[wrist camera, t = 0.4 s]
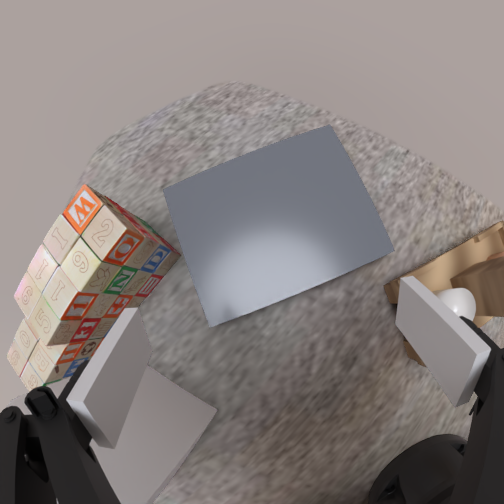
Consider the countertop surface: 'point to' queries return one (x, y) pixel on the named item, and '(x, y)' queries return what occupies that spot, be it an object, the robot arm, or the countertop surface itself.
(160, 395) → the milk
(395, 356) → the countertop surface
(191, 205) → the dock
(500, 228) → the carrier tray
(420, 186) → the countertop surface
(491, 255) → the brown egg
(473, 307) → the white egg
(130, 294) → the stack of blocks
